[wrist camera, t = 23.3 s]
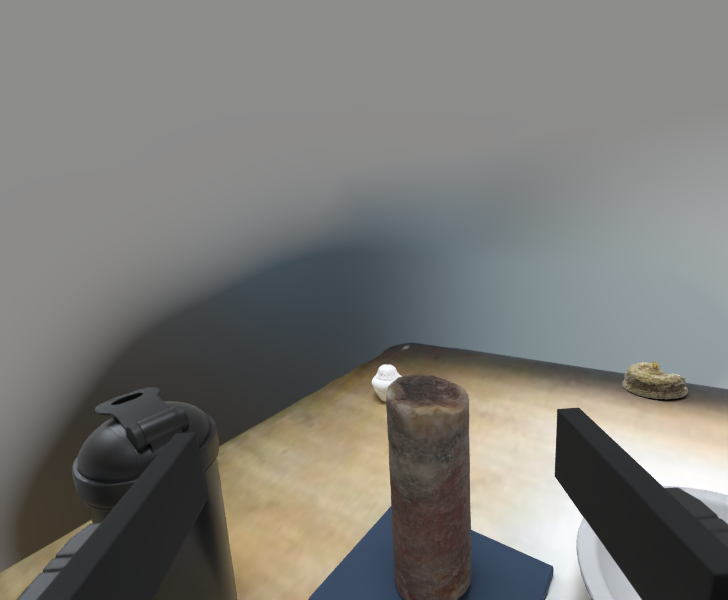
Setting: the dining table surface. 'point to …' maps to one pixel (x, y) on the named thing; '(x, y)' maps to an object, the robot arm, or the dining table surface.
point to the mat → (484, 596)
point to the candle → (429, 487)
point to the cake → (653, 382)
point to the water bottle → (131, 458)
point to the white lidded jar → (384, 380)
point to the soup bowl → (601, 571)
